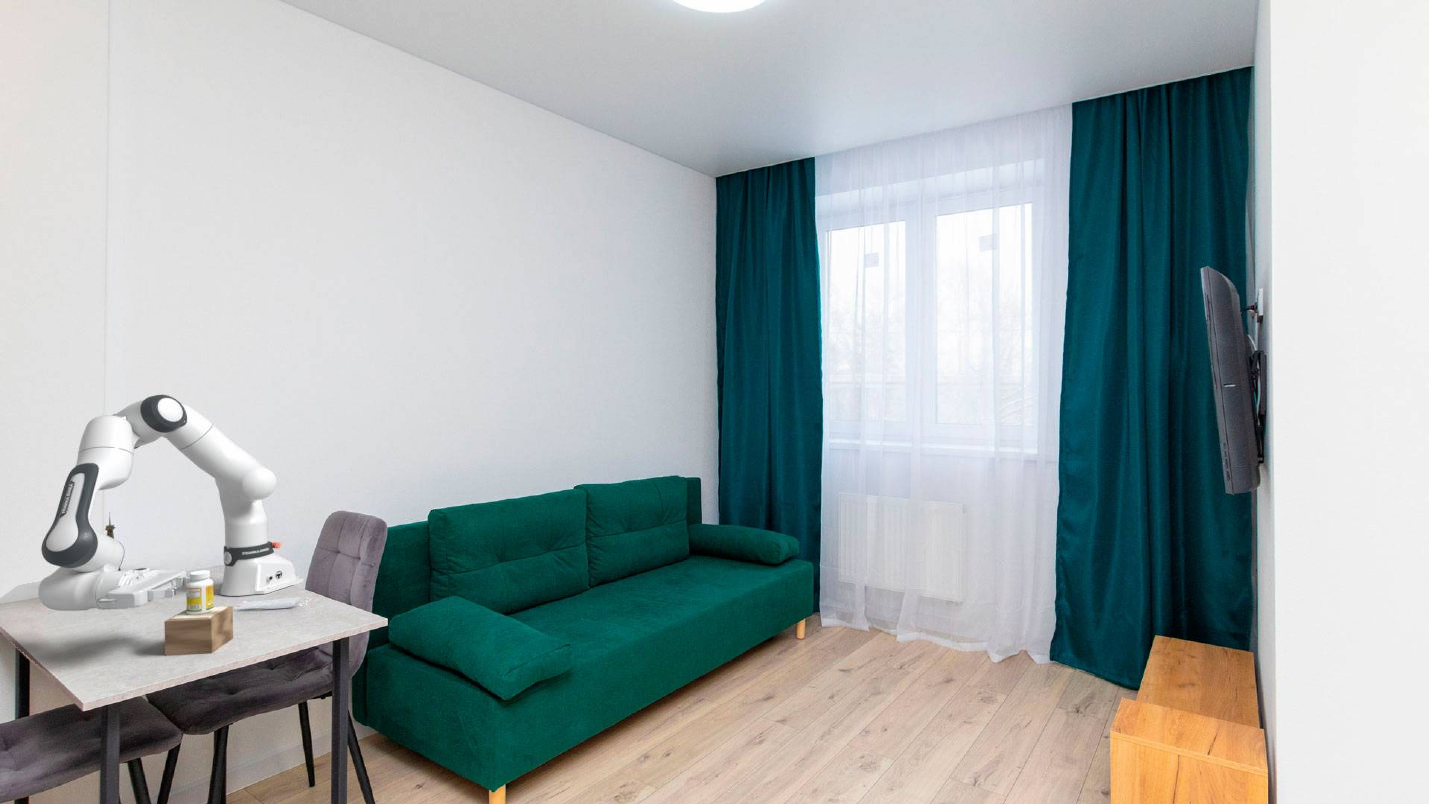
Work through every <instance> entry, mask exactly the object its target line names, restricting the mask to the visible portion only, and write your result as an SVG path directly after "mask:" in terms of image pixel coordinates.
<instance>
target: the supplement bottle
mask: <svg viewBox="0 0 1429 804" xmlns="http://www.w3.org/2000/svg"><path fill="white" fill-rule="evenodd" d="M189 577H190V580H191V581H190V582H188V583H187V585H186V591H185V592H186V595H185V597H186V609H187V614H189V615H199V614H204V613H208V612H210V611H212V610H213V608H214V607H215V606H214V581H213V579H211V578H210V577H211V571H210V570H206V569H204V570H195V571H192V572H190V573H189Z"/></svg>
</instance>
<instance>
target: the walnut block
mask: <svg viewBox="0 0 1429 804" xmlns="http://www.w3.org/2000/svg"><path fill="white" fill-rule="evenodd" d="M233 613H234V611H233V606H230V605H229V606H214V608H213V610H212V611H210V612H208V613H204V614H199V615H189V614H187V608H186V609H185V610H183V611H181V612H179V613H177V614H176V615H174V616H172V617H170V618H168V619H167V620H165V621H163V623H164V655H165V656H181V655H195V654H196V655H199V654H201V655H202V654H203V655H204V654H212V653H214V652H216V651H217V650H218V649H220V648H222V647H223V646H224V645H226V644H227V643H229V642H230V641H231V640H233V639H234V618H233V617H234V614H233Z"/></svg>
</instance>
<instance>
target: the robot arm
mask: <svg viewBox="0 0 1429 804" xmlns="http://www.w3.org/2000/svg"><path fill="white" fill-rule="evenodd" d="M160 438H165V439H166V440H167V441H169V443H170V444H171V445H172V446H173V447H175V448H176V449H177V450H178V451H179V452H180V453H181V454H183V455H184V456H185V457H186V458H187V459H188V460H190V461H191V462H192V463H193V464H194V465H195V466H196V467H198V468H199V469H200V470H202V471H203V472H204V473H206V474H208V475H209V476H211V477H212V478H213V479H214V482H215V484H216V487H217V490H218V495H219V500H220V505H221V506H220V507H221V509H222V514H223V520H224V546H223V564H224V572H223V579H222V584H221V587H220V591H219V594H220V595H222V596H227V597H232V596H233V597H236V596H237V597H238V596H239V597H241V596H250V595H266V594H269V593H272V592H276V591H279V590H282V589H284V588H287V587H291V586H293V585H297V584H300V583H302V582H304V581H305V579H304V577H303V576H301V575H299V574H296V569H295V565H294V563H293V562H292V561H291V560H289V559H288V558H285V557H284V556H282V555H280V554H278V553H276V552H275V550H276V549H277V550H279V549H281V547H282V543H281V542H280V541H274V542H272V541H269V532H268V531H269V529H268V523H269V522H268V521H269V519H268V515H267V513H266V510H265V508H264V504H263V501H262V500H263V499H266V498H268V497H270V496H271V495H272V494H273V493H274V492H275V490H276V488H277V484H278V481H277V477H276V475H275V474H274V472H273V471H272V470H270V469H269V468H268V467H267V466H265V465H264V464H263V463H261V462H260V461H259V460H258V459H256V458H255V457H254V456H252V455H251V454H250V453H249V452H247V451H246V450H245V449H243V448H241V447H240V446H239V445H237V444H236V443H235V442H234V441H233V440H232V439H230V438H229V437H228V436H227V435H226V434H225V433H223V431H222V430H220V429H219V428H218V427H217V426H216V425H215V424H214V423H212V421H210V419H208V418H207V417H206V416H205V415H203V414H202V413H200V412H199V411H197V410H196V409H194V408H193V407H192V406H190V405H188V404H186V403H184V402H180V401H179V400H177V399H176V398H174V397H172V396H170V395H167V394H155V395H152V396H148V397H146V398H145V399H143V400H142V399H141V400H139V401H136V402H133V403H131V404H129V405H128V406H126V407H125V408H123V409H122V410H120V411H118V412H116V413H114V414H112V415H111V414H110V415H109V414H108V415H107V414H106V415H100V416H96V417H94V418H92V419H90V421H88V422H87V424H86V426H85V428H84V430H83V433H82V436H81V439H80V443H79V447H78V451H77V452H78V453H77V457H76V464H75V466H74V467H73V468H72V469H71V470H70V472H69V474H68V476H67V477H66V480H65V483H64V485H63V490H62V492H61V494H60V495H61V496H60V499H59V503H58V506H57V510H56V513H55V516H54V519H53V522H52V524H51V526H50V528H49V529H48V531H47V532H46V534H45V536H44V538H43V540H42V543H41V547H40V549H41V550H40V551H41V554H42V557H43V559H44V560H45V561H46V562H47V563H49V564H51V565H53V566H56V567H57V566H58V568H57V569H56V570H55V571H54V572H52V573H51V574H50V575H47V576H46V577H44V578H43V579H42V580H41V582H40V583H39V586H38V589H37V590H38V594H37V595H38V598H39V600H40V602H41V604H42V605H43V606H44V607H45V608H47V609H50V610H53V611H61V612H62V611H65V612H76V611H78V612H80V611H88V610H89V611H90V610H92V609H98V610H102V611H103V610H126V609H133V608H134V609H135V608H139V607H142V606H145V605H147V604H149V603H150V602H152V601H156V600H160V599H161V600H162V599H166V598H173V597H175V596H176V595H177V589H179V588H181V587H184V586H186V585H187V583H188V582H190V581H191V580H190V576H189V577H188V576H187V571H185V570H182V569H151V567H141V568H135V569H128V570H127V569H126V570H121V571H119V568H120V569H121V566H122V563H123V561H124V558H125V548H124V545H123V544H122V543H121V542H120V541H119V540H116V539H115V538H114V539H113V538H111V537H109V536H107V534H104V533H102V532H101V531H98V530H97V529H96V528H95V527H94V526H93V524H92V522H91V518H92V517H91V516H92V513H93V509H94V504H95V501H96V496H97V494H98V491H105V490H109V489H114V488H117V487H119V486H121V485H122V484H124V483H125V482H127V480H129V478H130V476H131V475H132V471H133V466H134V455H135V449H138V448H140V447H141V446H142V447H143V446H145V445H148V444H150V443H151V444H152V443H153V442H155V441H157V440H159V439H160ZM274 549H275V550H274Z"/></svg>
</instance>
